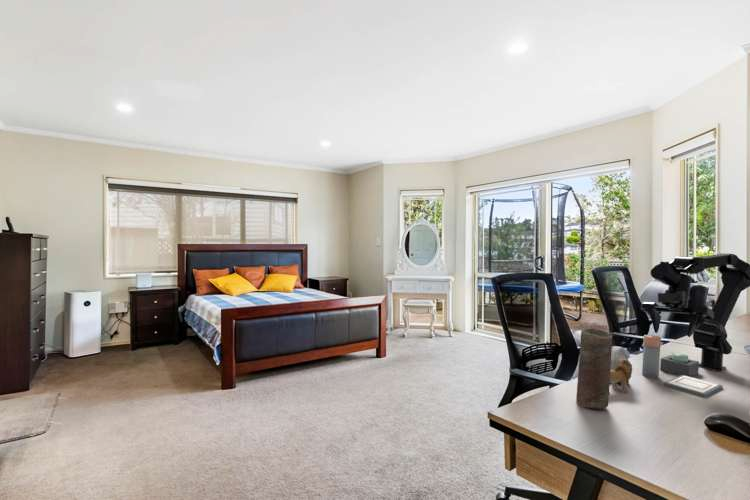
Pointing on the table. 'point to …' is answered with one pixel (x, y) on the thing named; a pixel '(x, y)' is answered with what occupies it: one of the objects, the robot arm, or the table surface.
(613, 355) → the watch
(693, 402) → the table surface
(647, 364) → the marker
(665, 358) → the button housing
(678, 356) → the button
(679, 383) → the board
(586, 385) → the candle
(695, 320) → the robot arm
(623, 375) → the lion figurine
